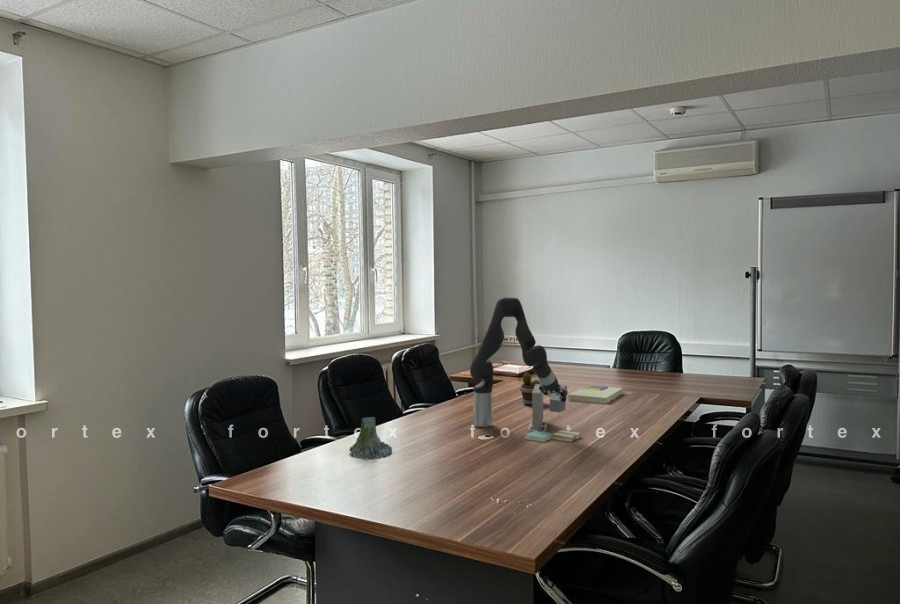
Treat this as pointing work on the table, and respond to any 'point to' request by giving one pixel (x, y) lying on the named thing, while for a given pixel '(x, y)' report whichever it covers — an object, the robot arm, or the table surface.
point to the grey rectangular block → (556, 403)
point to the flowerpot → (527, 388)
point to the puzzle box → (595, 394)
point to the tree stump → (369, 442)
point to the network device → (537, 410)
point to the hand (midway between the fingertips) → (559, 399)
